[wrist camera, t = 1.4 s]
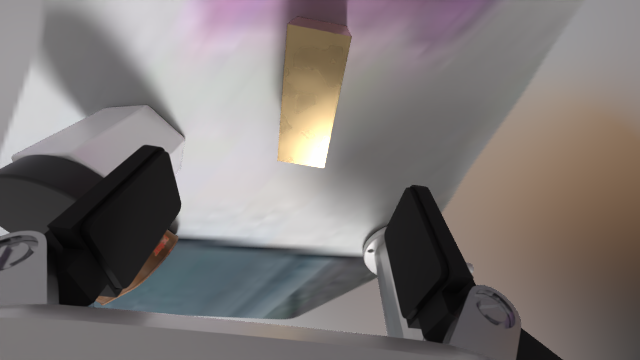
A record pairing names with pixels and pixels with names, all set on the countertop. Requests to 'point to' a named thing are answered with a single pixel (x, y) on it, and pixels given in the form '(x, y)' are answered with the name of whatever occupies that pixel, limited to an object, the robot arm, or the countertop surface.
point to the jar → (78, 163)
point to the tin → (148, 264)
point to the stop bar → (311, 89)
